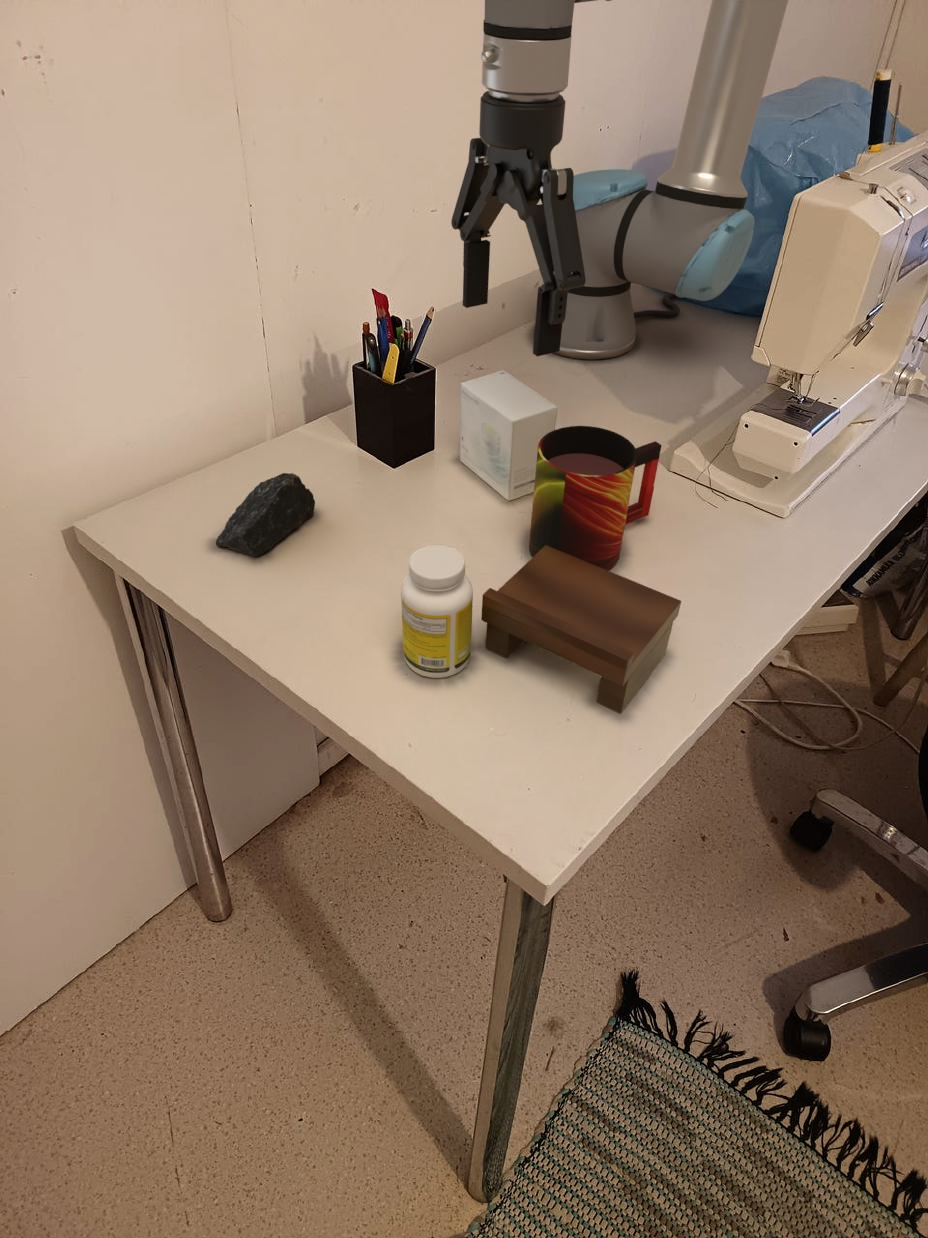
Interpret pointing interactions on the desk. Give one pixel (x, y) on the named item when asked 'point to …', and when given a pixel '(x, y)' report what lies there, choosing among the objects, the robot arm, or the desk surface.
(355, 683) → the desk surface
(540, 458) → the mug
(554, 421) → the cosmetics box
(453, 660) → the pill bottle
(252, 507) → the rock
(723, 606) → the desk surface
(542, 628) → the shelf
